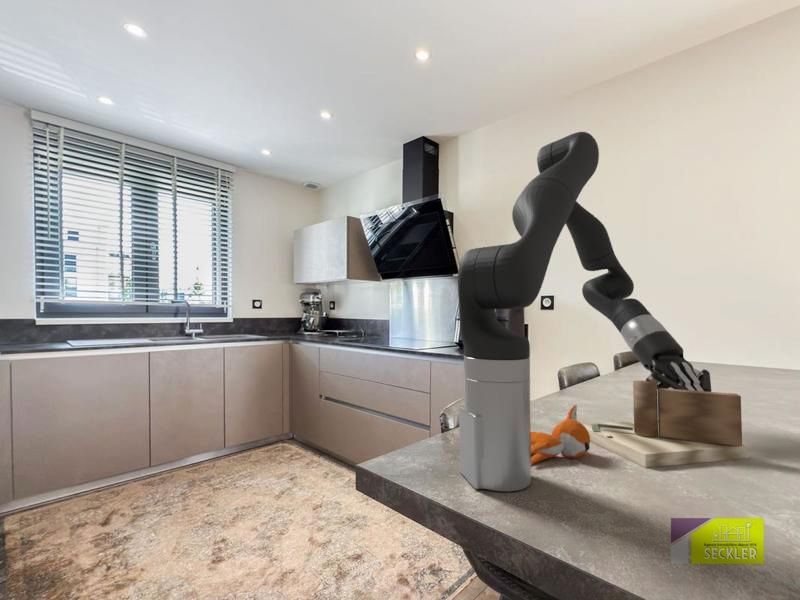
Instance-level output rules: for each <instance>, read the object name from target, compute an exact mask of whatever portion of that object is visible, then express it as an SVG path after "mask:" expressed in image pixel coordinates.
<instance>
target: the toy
mask: <svg viewBox="0 0 800 600" xmlns="http://www.w3.org/2000/svg"><path fill="white" fill-rule="evenodd" d="M577 408H578V406H577V403H576V404H575V405H573V406H572V407H571V408H570V409H569V410H568V412H567V417H566V419H564V420H562V421H561V422H559V423H558V424H557V425H555V427H554V428H553V429H552V432H551V434H548V433H546V432H540V431H538V432H537V431H531V466H533V465H534V464H536V463H539V462H541V461H544V460H547V459H550V458H554V457H556V456H557V455H559V454H561V455H562V456H563V457H564V458H567V459H568V458H569V459H575V460H576V459H578V458H580V457H582V456H583V455H584V454H585V453H586V452H587V451H589V450H590V443H591V442H590V435H589V432H588V431H587V429H586V428H585V426H584V425H582V423H581V422H579V421H578V420H577V414H578V413H577V412H578V409H577Z"/></svg>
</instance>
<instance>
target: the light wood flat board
mask: <svg viewBox="0 0 800 600" xmlns="http://www.w3.org/2000/svg"><path fill="white" fill-rule="evenodd" d="M581 424H582V423H581ZM598 424H607V425H616V426H625V427H633V430H624V429H616V428H607V427H598ZM582 425H584V426H585V428H586V429H587V431H588V432H589V435H590V443H592V444H595V445H597V446H599V447H602V448H603V449H605V450H607V451H610V452H612V453H614V454H616V455H618V456H620V457H622V458H624V459H627V460H629V461H631V462H633V463H635V464H636V465H639V466H641V467H643V468H655V467H665V466H667V467H668V466H677V465H688V464H698V463H710V462H720V461H721V462H722V461H731V460H743V459H749V458H750V446H749V445H747V444H744V443H742V446H736V445H728V444H719V443H711V442H702V441H694V440H686V439H677V438H669V437H660V435H659V433H658V436H654V437H652V436H643V435H639V434H636V433H635V432H634V420H631V421H619V422H618V421H617V422H616V421H615V422H614V421H613V422H601V423H600V422H598V423H584V424H582Z"/></svg>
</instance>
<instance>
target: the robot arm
mask: <svg viewBox="0 0 800 600" xmlns="http://www.w3.org/2000/svg"><path fill="white" fill-rule="evenodd" d="M599 149H600V148H599V145H598V143H597V141H596V139H595V137H594V136H593V135H592V134H591V133H588V132H587V131H578V132H574V133H570V134H569V135H567V136H564V137H562V138H560V139H557V140H555V141H553V142H550V143H547V144H546V145H544V146H542V147H541V148H540V149H539V151H538V152H537V157H536V163H537V165H536V166H537V169H538V172H539V174H538V175H536V176H535V177H533V179H531V181H530V182H528V183H527V185H526V186H525V187H524V189H523V190H522V191H521V193H520V195H519V196H518V197H517V199H516V201H515V203H514V205H513V208H512V212H511V213H512V215H511V217H512V221H513V226H514V227H515V230H516V232H517V234H519V236H520V239H519V240H517V241H515V242H512V243H507V244H499V245H491V246H482V247H476V248H471V249H469V250H467V251H465V252H464V254H463V256H462V257H461V259H460V262H459V266H458V270H457V293H458V294H457V296H458V311H459V312H458V313H459V331H460V338H461V341H462V343H463V376H464V377H463V395H464V396H463V406H462V405H461V406H460V407H459V409H458V412H459V413H458V414H459V417H458V418H459V419H458V420H459V423H458V424H459V425H458V427H459V428H458V429H459V431H458V434H459V441H458V443H459V449H458V450H459V454H458V455H459V457H458V458H459V472H460V474H461V475H462V476H463V477H464V478H465V479H466V480H467V481H468V482H469V484H470V485H471V486H472V487H473V488H474V489H475V490H479V489H482V490H484V489H485V490H489V491H490V490H491V491H497V492H514V491H515V492H516V491H521V490H524V489H525V488H528V487H529V486H530V485H531V483H532V465H531V457H532V454H531V432H532V431H531V424H532V423H531V351H530V350H531V347H530V345H531V344H530V341H529V339H528V338H527V337H526V336H524V335H523V334H520V333H518V332H516V331H513V330H511V329H509V328H507V327H505V325H503V324H502V323H501V322H500V321H499V320H498V319H497V315H496V310H518V309H519V310H520V309H524V308H527V307H529V306H531V305H532V304H533V303H534V302H535V301H536V299H537V298H538V295H539V293H540V291H541V289H542V286H543V283H544V281H545V276H546V274H547V271H548V268H549V265H550V262H551V261H550V260H551V258H552V255H553V252H554V248H555V246H556V244H557V241H558V239H559V238H560V235H561V232H562V231H563V229H564V227H565V226H566V227H567V229H568V232H569V234H570V236H571V238H572V241H573V243H574V246H575V249H576V253H577V255H578V259H579V260H580V264H581V266H582V267H583V269H584V270H586V271H589V272H597V271H602V270H607V272H606V273H603V274H601V275H598V276H596V277H593V278H591V279H589V280H587V281H586V282H584V283H583V285H582V288H581V289H582V296H583V299H584V300H585V301H586V303H588V305H590V307H592V308H593V309H594V310H595V311H598V312H599V313H600V314H602V315H603V316H604V317H606V318H607V320H609V321H610V322H611V323H612V324H613V325H614V327H615V328H616V329H617V330H618V332H619V333H620V335H621V336H622V338H623V340H624V341H625V343H626V345H627V346H628V348H629V349H630V351H631V352H632V353H633V354H634V355H635V358H637V360H638V362H640V364H641V365H642V366H643V368H644V369H646V371H647V370H648V371H649V372H650V374H649V376H647V377H646V379H645V381H650V382H655V383H657V388H664V389H678V390H692V391H705V392H712V384H711V383H712V382H711V375H710V374H711V373H710V372H709V370H708V369H705V368H704V369H702V370H698V369H696V368H694V366H693V365H692V363H691V362H690V361H688V360H686V359H685V357H684V348H683V347H682V346H681V345H680V344H679V343H678V341H677V340H676V339H675V338H674V337H673V336H672V334H671V333H670V332H669V331H668V330H667V328H666V327H665V326H664V325H663V324H662V323H661V322H660V321H659V320H658V319H656V318H655V316H653V315H652V313H651V312H650V311H649V310H648V309H647V307H646V306H645V305H644V304H643V303H642V302H641V301H640V300H638V299H636V298H630V296H631V295H632V294H633V292H634V288H635V284H634V281H633V279H632V278H631V276H630V275H629V274H628V272H627V271H626V270H625V269H624V267H623V266H622V265H621V263H620V261H619V259H618V257H617V256H616V253H615V252H614V248H613V245H612V242H611V239H610V236H609V233H608V230H607V228H606V227H605V225H604V223H602V222H601V220H600V219H599V218H597V217H596V216H595V215H594V214H593V213H591V212H590V211H588V210H587V209H586V208H585V207H584V206H583V205H581V204H580V203H579V202H578V201H577V199H578V198H579V196H580V194H581V192H582V190H583V189H584V188H585V186H586V184H587V183H588V182H589V181H590V179H591V178H592V177H593V175H594V174H595V172H596V171H597V168H598V165H599V160H600V158H599V157H600V153H599V152H600V150H599ZM628 297H629V298H628Z"/></svg>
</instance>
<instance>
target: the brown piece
mask: <svg viewBox="0 0 800 600" xmlns="http://www.w3.org/2000/svg"><path fill="white" fill-rule="evenodd" d="M632 390H633V392H632V394H633V396H632V397H633V421H634V432H635V433H636V434H639V435H643V436H652V437H654V436H658V433H659V435H660V437H669V438H677V439H686V440H694V441H702V442H711V443H719V444H728V445H736V446H742V444H743V431H742V430H743V428H742V426H743V425H742V396H741V395H739V394H738V393H731V392H728V393H727V392H720V391H719V392H717V391H711V392H705V391H692V390H678V389H670V388H668V389H664V388H657V383H655V382H650V381H646V380H633V381H632ZM598 427H607V428H616V429H624V430H633V427H625V426H616V425H607V424H598Z"/></svg>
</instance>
